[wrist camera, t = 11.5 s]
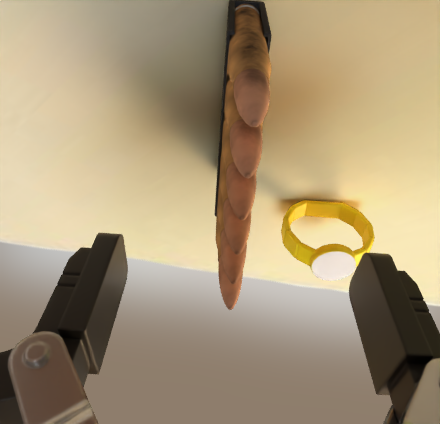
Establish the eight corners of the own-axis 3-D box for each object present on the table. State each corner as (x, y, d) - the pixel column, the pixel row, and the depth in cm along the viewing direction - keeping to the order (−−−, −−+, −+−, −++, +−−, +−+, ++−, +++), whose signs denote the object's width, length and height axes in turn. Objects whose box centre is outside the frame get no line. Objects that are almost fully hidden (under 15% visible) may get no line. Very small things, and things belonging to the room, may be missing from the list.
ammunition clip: (243, 173, 26) (249, 323, 17) (217, 172, 26) (208, 320, 17) (264, 1, 19) (293, 94, 10) (229, -1, 19) (224, 88, 10)
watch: (364, 193, 27) (391, 253, 22) (355, 222, 28) (378, 283, 24) (281, 190, 27) (291, 250, 22) (277, 219, 29) (285, 280, 24)
